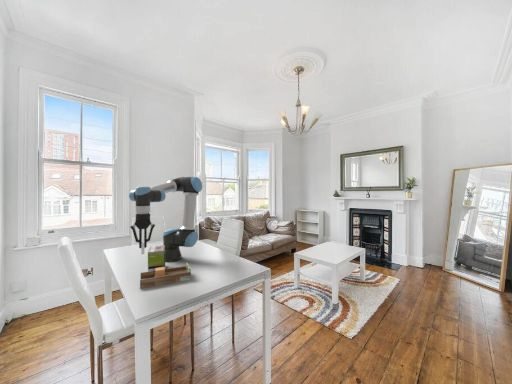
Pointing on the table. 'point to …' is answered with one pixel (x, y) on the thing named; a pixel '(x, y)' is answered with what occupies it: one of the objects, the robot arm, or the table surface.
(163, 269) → the block
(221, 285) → the table surface
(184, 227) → the robot arm
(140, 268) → the table surface
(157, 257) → the tea box
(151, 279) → the track
